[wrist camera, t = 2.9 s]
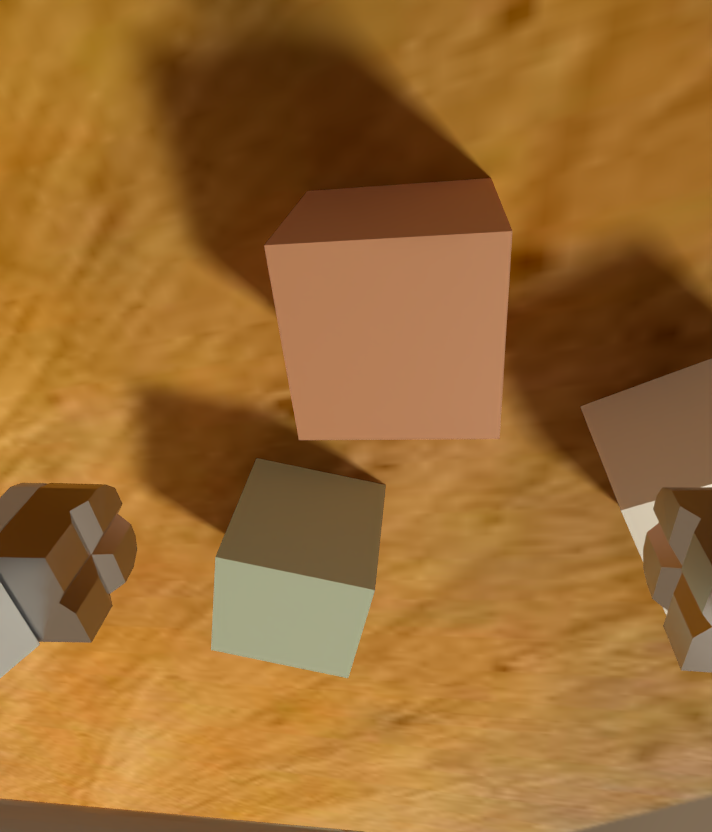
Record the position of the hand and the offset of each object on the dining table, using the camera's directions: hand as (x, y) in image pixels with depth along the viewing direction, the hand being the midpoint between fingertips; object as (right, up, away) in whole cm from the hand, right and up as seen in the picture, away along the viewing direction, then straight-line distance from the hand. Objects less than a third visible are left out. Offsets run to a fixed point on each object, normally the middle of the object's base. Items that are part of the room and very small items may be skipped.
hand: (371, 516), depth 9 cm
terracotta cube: (+1, +6, +8) cm, 10 cm away
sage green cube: (-2, -2, +14) cm, 15 cm away
